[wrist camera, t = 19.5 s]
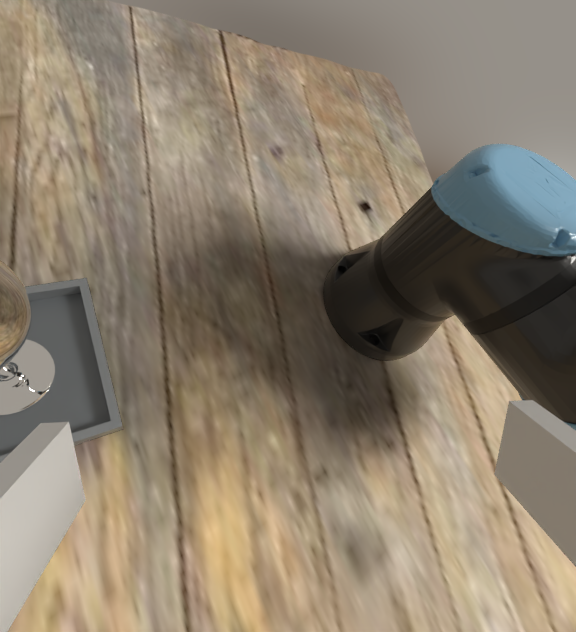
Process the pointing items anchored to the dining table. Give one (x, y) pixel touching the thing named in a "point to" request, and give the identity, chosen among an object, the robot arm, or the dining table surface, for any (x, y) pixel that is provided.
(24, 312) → the wineglass
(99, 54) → the dining table surface
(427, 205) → the robot arm
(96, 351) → the tray
